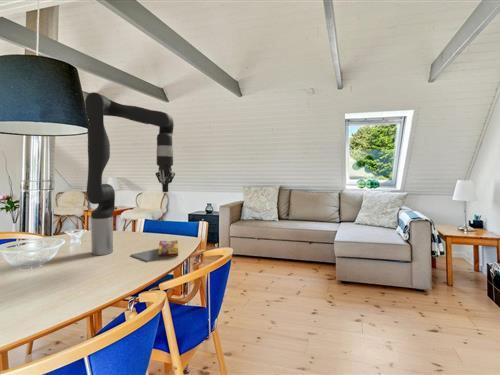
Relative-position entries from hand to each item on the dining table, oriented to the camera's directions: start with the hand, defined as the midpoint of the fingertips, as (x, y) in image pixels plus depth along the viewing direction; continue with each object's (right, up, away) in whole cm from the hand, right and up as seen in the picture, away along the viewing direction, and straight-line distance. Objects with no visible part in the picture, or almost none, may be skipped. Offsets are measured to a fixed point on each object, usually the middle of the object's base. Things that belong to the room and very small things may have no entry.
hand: (165, 192), depth 137 cm
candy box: (+3, -28, -6) cm, 29 cm away
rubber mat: (-5, -30, -1) cm, 30 cm away
